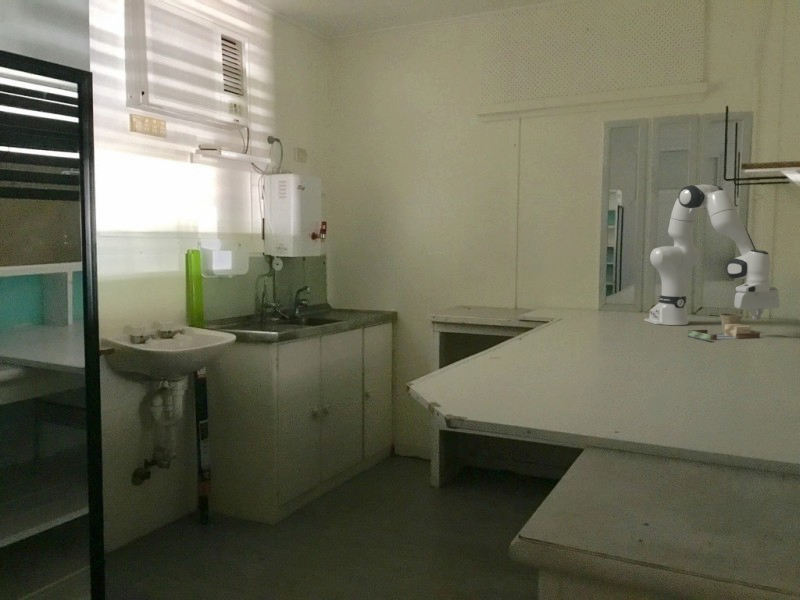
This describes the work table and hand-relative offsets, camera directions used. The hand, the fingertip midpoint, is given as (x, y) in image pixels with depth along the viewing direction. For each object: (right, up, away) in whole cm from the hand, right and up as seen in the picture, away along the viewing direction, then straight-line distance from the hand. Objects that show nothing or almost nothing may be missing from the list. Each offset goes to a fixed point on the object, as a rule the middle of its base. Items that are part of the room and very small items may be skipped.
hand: (756, 319), depth 269 cm
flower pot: (-5, -7, +11) cm, 14 cm away
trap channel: (-16, -8, -2) cm, 18 cm away
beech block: (-9, -7, -1) cm, 11 cm away
